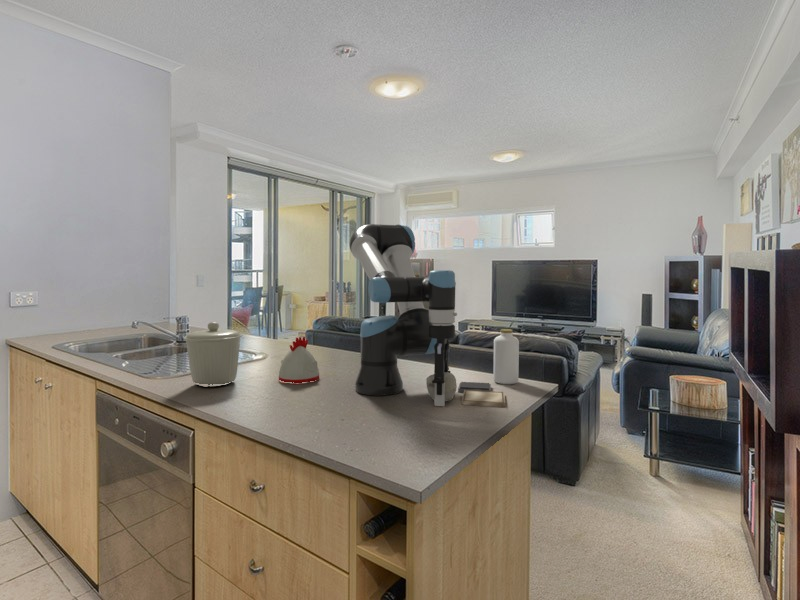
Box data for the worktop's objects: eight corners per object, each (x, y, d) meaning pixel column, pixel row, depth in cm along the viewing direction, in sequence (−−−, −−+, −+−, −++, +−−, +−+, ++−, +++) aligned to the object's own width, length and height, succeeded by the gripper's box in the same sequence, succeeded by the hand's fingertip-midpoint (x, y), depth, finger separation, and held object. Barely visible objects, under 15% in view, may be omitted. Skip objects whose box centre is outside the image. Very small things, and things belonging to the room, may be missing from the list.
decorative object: (452, 407, 125) (452, 371, 124) (422, 404, 128) (422, 369, 127) (459, 398, 133) (459, 365, 132) (431, 396, 136) (431, 363, 136)
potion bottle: (519, 385, 148) (519, 331, 147) (493, 384, 150) (494, 331, 149) (517, 379, 156) (518, 328, 155) (493, 378, 158) (493, 328, 157)
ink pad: (458, 392, 140) (458, 387, 140) (459, 385, 148) (459, 381, 148) (490, 393, 138) (490, 389, 138) (490, 387, 146) (490, 382, 146)
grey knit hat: (327, 378, 160) (326, 336, 159) (299, 386, 148) (298, 341, 147) (299, 373, 167) (298, 333, 166) (270, 381, 156) (269, 338, 155)
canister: (249, 385, 148) (248, 322, 147) (190, 394, 138) (188, 326, 137) (235, 375, 163) (234, 318, 162) (181, 382, 153) (179, 321, 152)
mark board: (461, 404, 127) (461, 400, 127) (464, 393, 139) (464, 389, 139) (505, 406, 125) (505, 403, 125) (504, 395, 137) (504, 391, 137)
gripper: (451, 328, 118) (451, 413, 119) (457, 320, 139) (457, 391, 140) (423, 328, 119) (423, 411, 120) (433, 319, 141) (433, 390, 142)
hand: (441, 400), depth 130 cm, fingers open, 9 cm apart
